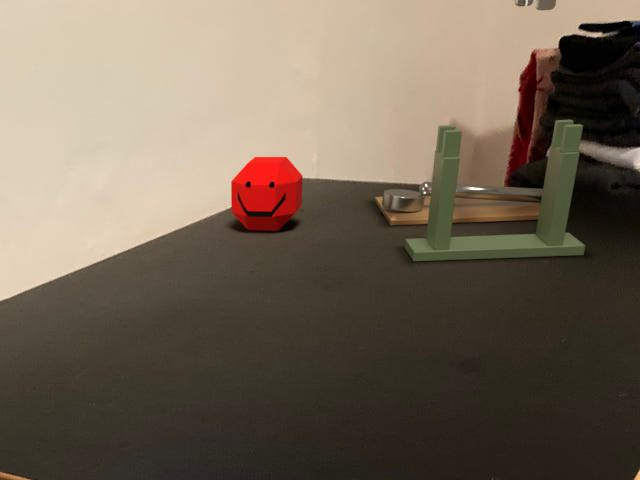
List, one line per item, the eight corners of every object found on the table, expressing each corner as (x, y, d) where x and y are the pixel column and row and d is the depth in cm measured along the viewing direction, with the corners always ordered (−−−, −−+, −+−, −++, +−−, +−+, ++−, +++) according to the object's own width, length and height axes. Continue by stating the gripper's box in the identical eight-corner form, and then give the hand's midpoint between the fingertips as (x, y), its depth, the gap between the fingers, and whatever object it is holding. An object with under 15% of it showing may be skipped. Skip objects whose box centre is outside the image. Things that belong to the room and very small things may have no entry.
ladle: (548, 212, 126) (555, 186, 124) (560, 221, 122) (567, 194, 120) (378, 201, 126) (383, 175, 124) (384, 210, 122) (389, 183, 120)
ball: (227, 233, 120) (226, 165, 116) (242, 218, 126) (242, 153, 122) (291, 235, 118) (293, 165, 114) (304, 220, 124) (306, 153, 120)
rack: (567, 241, 110) (590, 117, 102) (583, 255, 105) (608, 125, 98) (404, 247, 111) (415, 125, 104) (413, 261, 106) (425, 134, 99)
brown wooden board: (527, 195, 130) (527, 190, 130) (557, 219, 118) (558, 213, 118) (374, 201, 131) (375, 196, 131) (390, 225, 120) (390, 220, 119)
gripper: (617, -165, 92) (590, 10, 100) (558, -147, 108) (540, 1, 116) (547, -159, 92) (526, 15, 100) (500, -142, 109) (485, 6, 117)
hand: (533, 7), depth 108 cm, fingers open, 8 cm apart
